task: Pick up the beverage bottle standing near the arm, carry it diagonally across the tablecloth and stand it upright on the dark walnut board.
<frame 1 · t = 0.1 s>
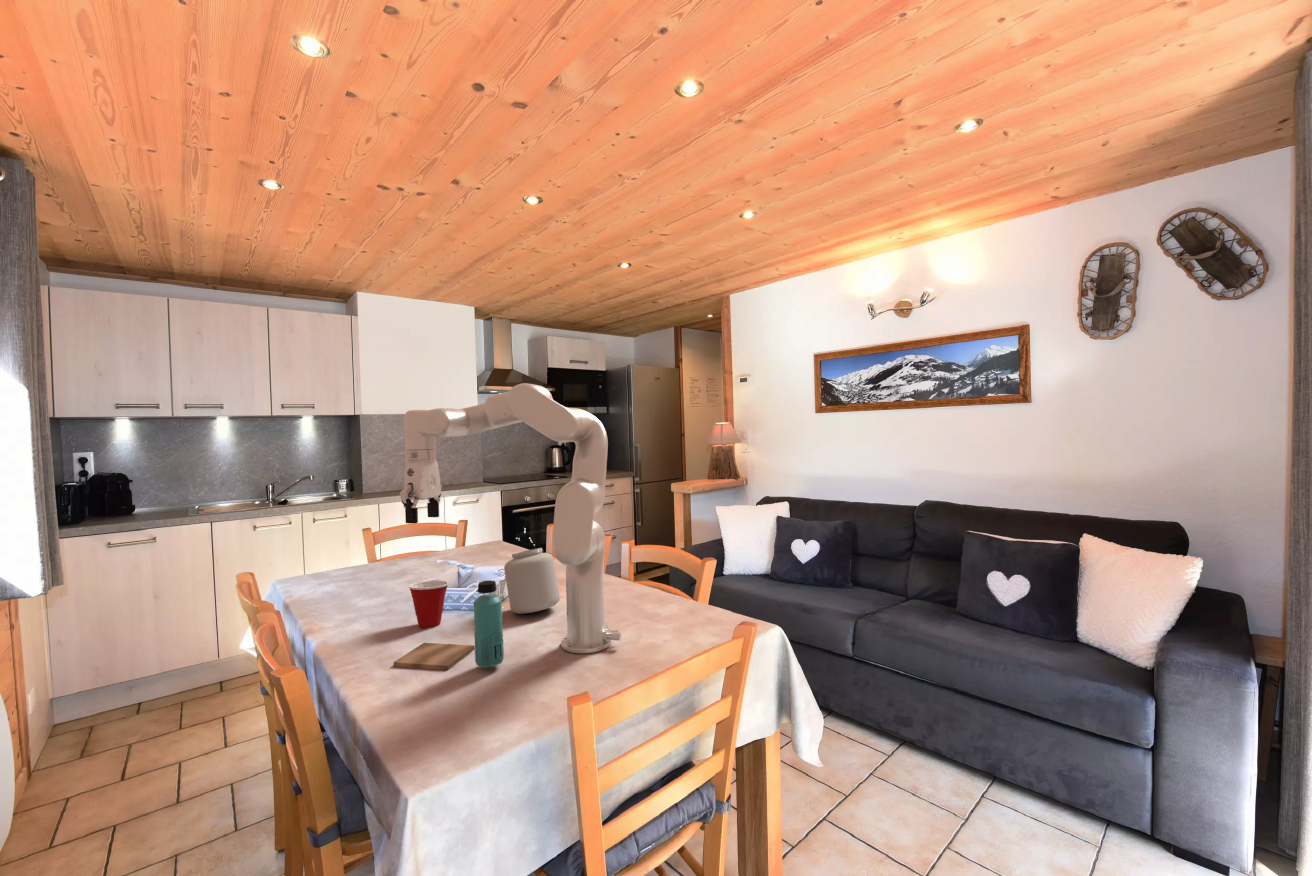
hand: (422, 520, 149), 31 cm above the table, tool pointing down, fingers open, 9 cm apart
plastic cup: (430, 625, 159), on the table
beverage bottle: (489, 668, 129), on the table
walnut board: (435, 657, 135), on the table
jar: (530, 611, 169), on the table
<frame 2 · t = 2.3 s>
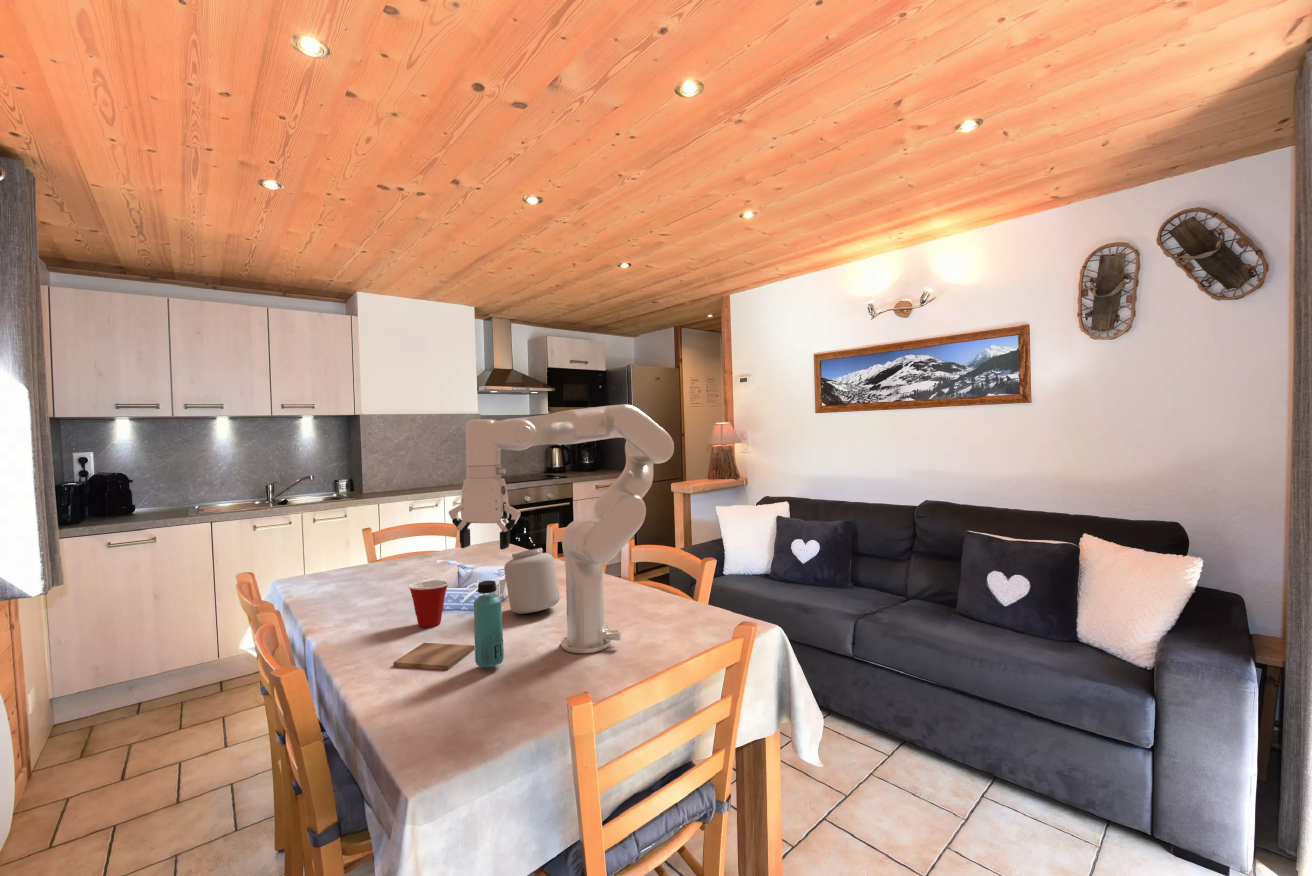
hand: (484, 547, 128), 28 cm above the table, tool pointing down, fingers open, 9 cm apart
nothing on the table moved.
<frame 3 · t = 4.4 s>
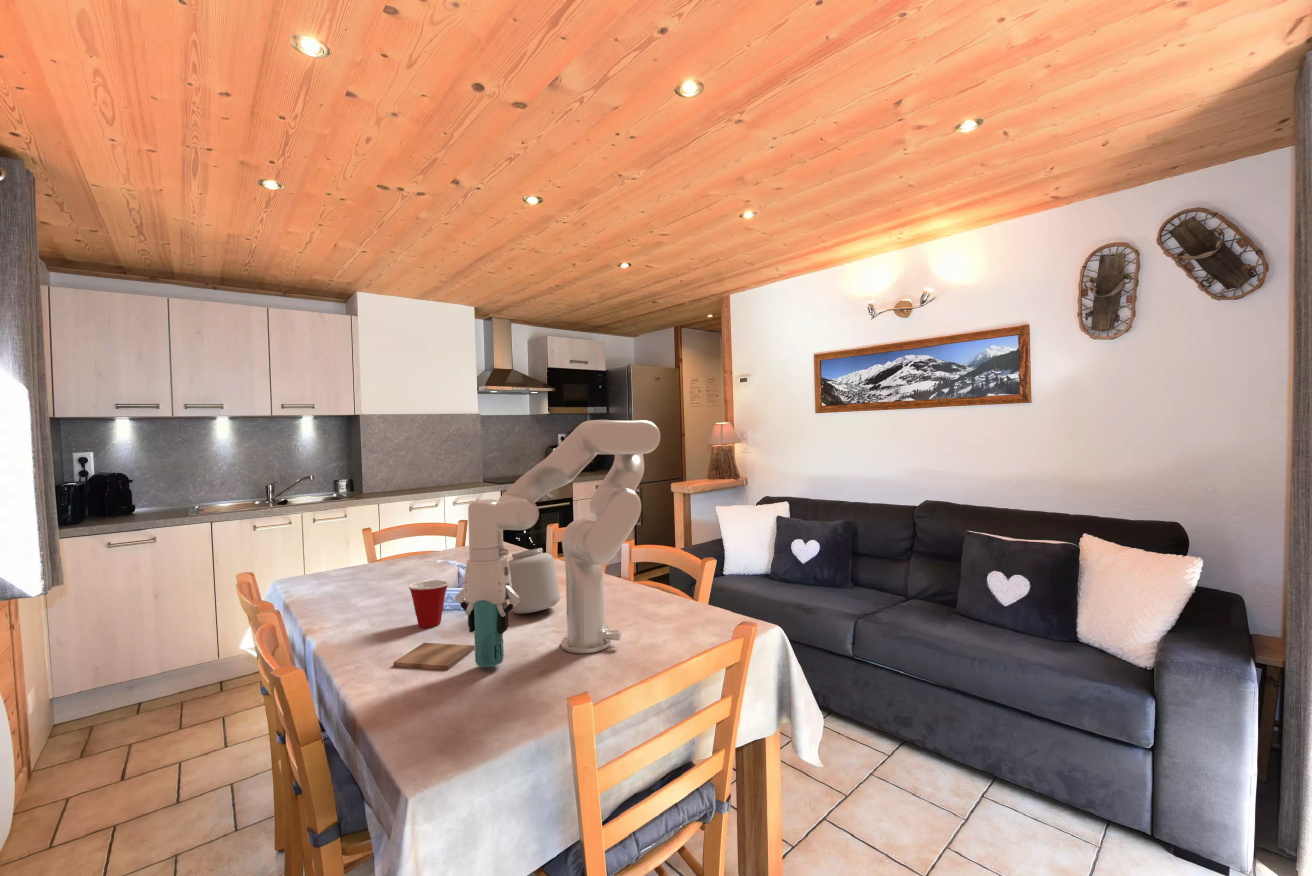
hand: (488, 630, 129), 9 cm above the table, tool pointing down, fingers closed on beverage bottle, 6 cm apart
beverage bottle: (489, 668, 129), on the table, touching gripper
everything else where it was.
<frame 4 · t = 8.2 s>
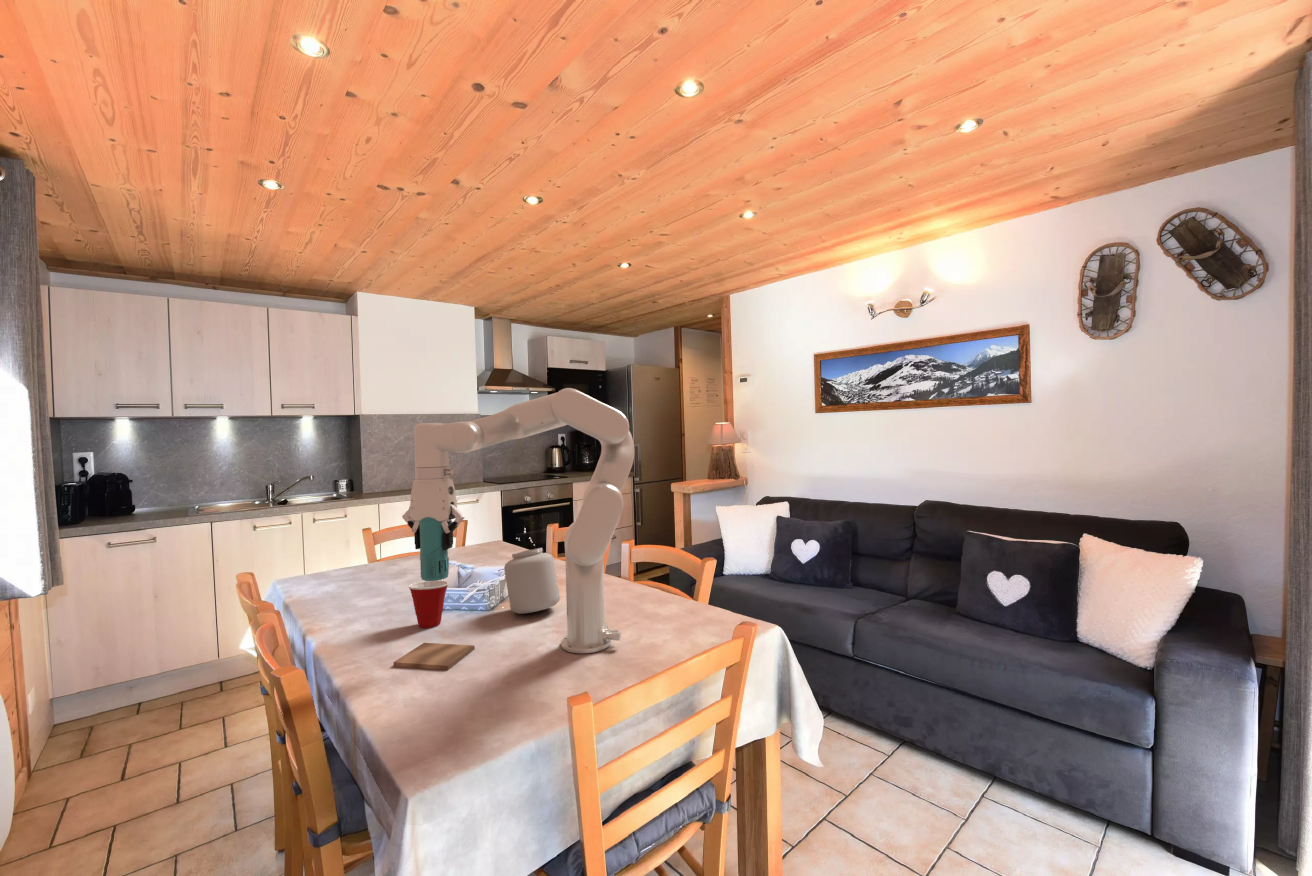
hand: (434, 547, 135), 27 cm above the table, tool pointing down, fingers closed on beverage bottle, 6 cm apart
beverage bottle: (434, 584, 135), point 18 cm above the table, touching gripper
everything else where it was.
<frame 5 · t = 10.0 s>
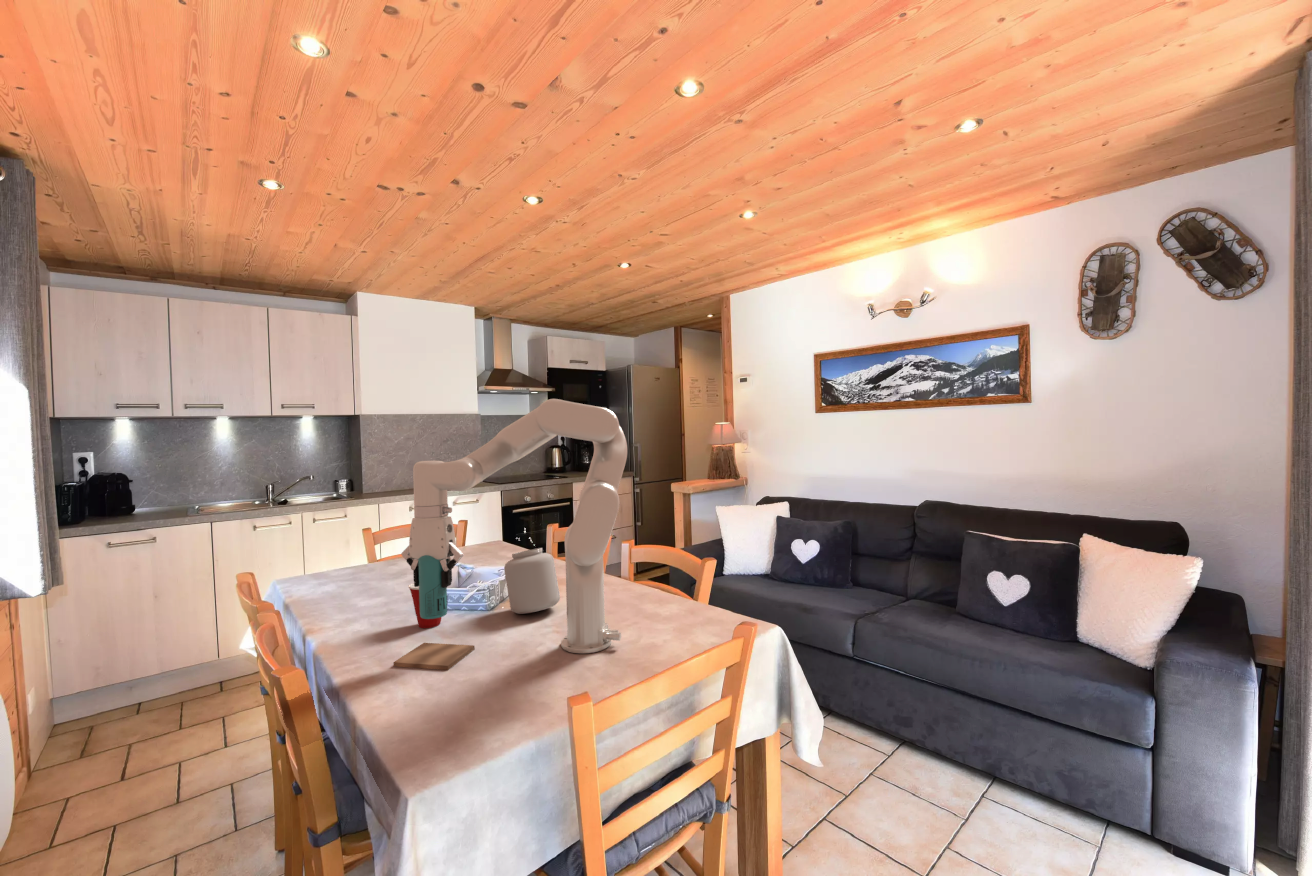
hand: (432, 585, 135), 18 cm above the table, tool pointing down, fingers closed on beverage bottle, 6 cm apart
beverage bottle: (433, 621, 135), point 9 cm above the table, touching gripper
everything else where it was.
when the fingers open (11 cm above the table, at t = 11.8 s): beverage bottle drops 1 cm, resting on walnut board.
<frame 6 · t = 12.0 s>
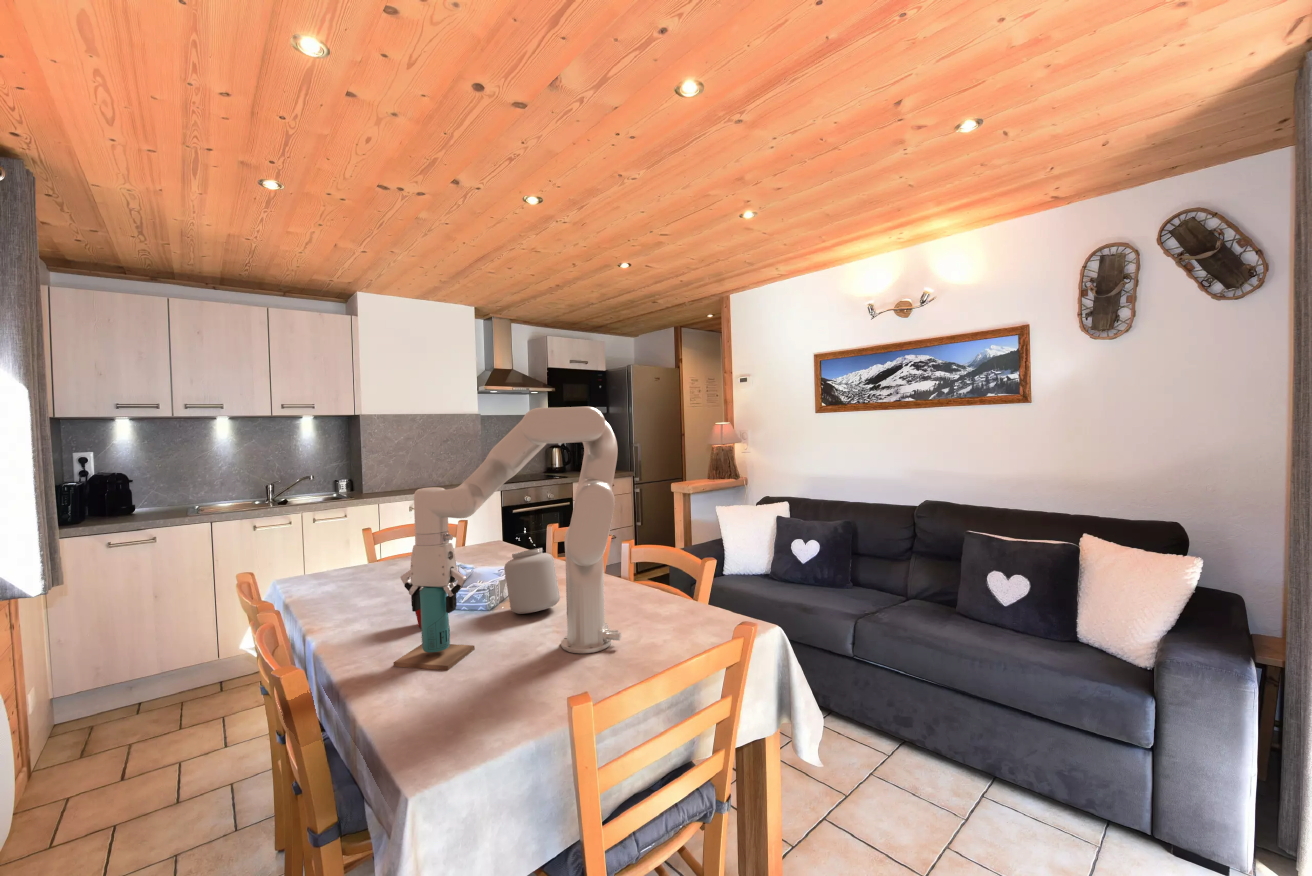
hand: (434, 610, 135), 12 cm above the table, tool pointing down, fingers open, 8 cm apart
beverage bottle: (436, 654, 135), point 1 cm above the table, touching walnut board
everything else where it was.
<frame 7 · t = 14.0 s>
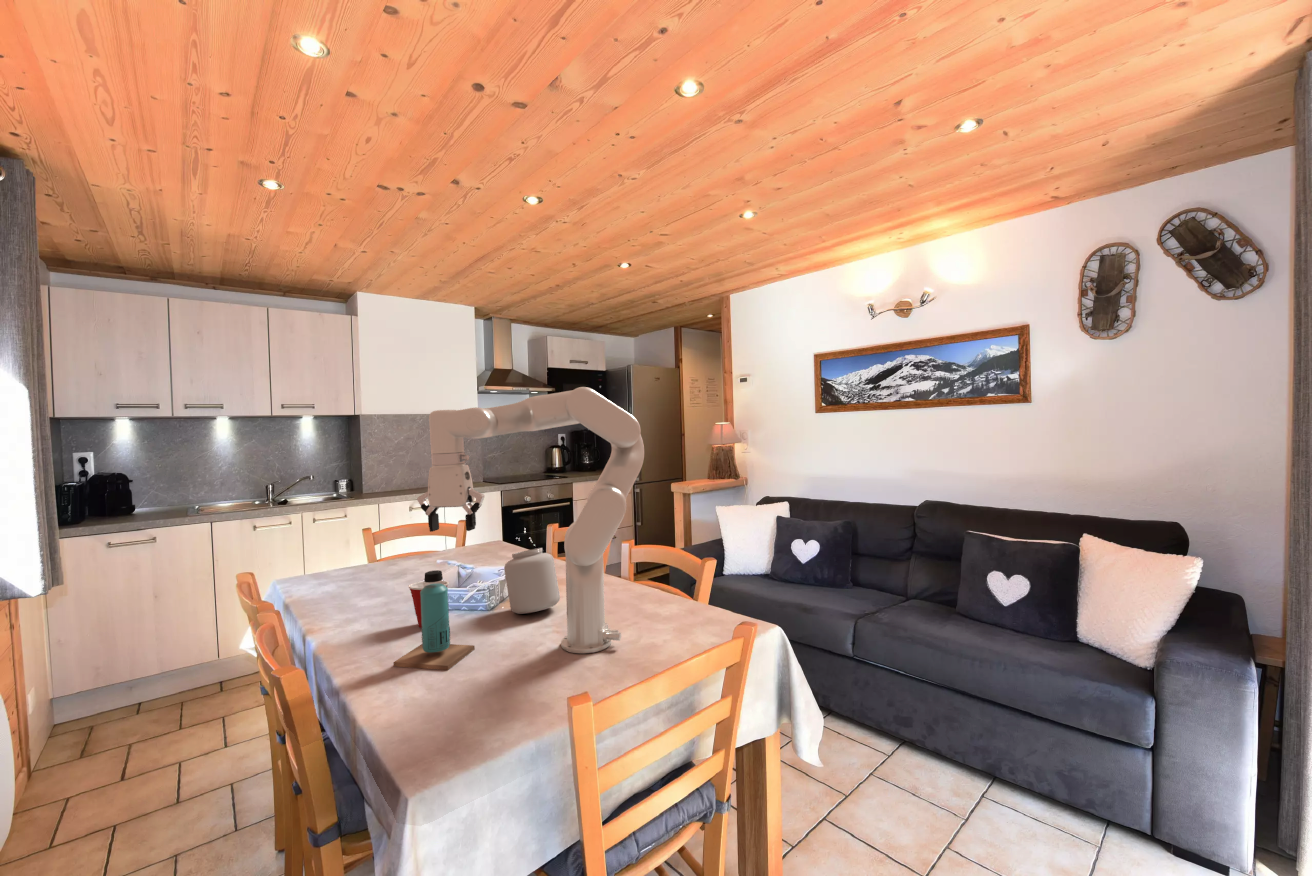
hand: (452, 530, 137), 31 cm above the table, tool pointing down, fingers open, 9 cm apart
nothing on the table moved.
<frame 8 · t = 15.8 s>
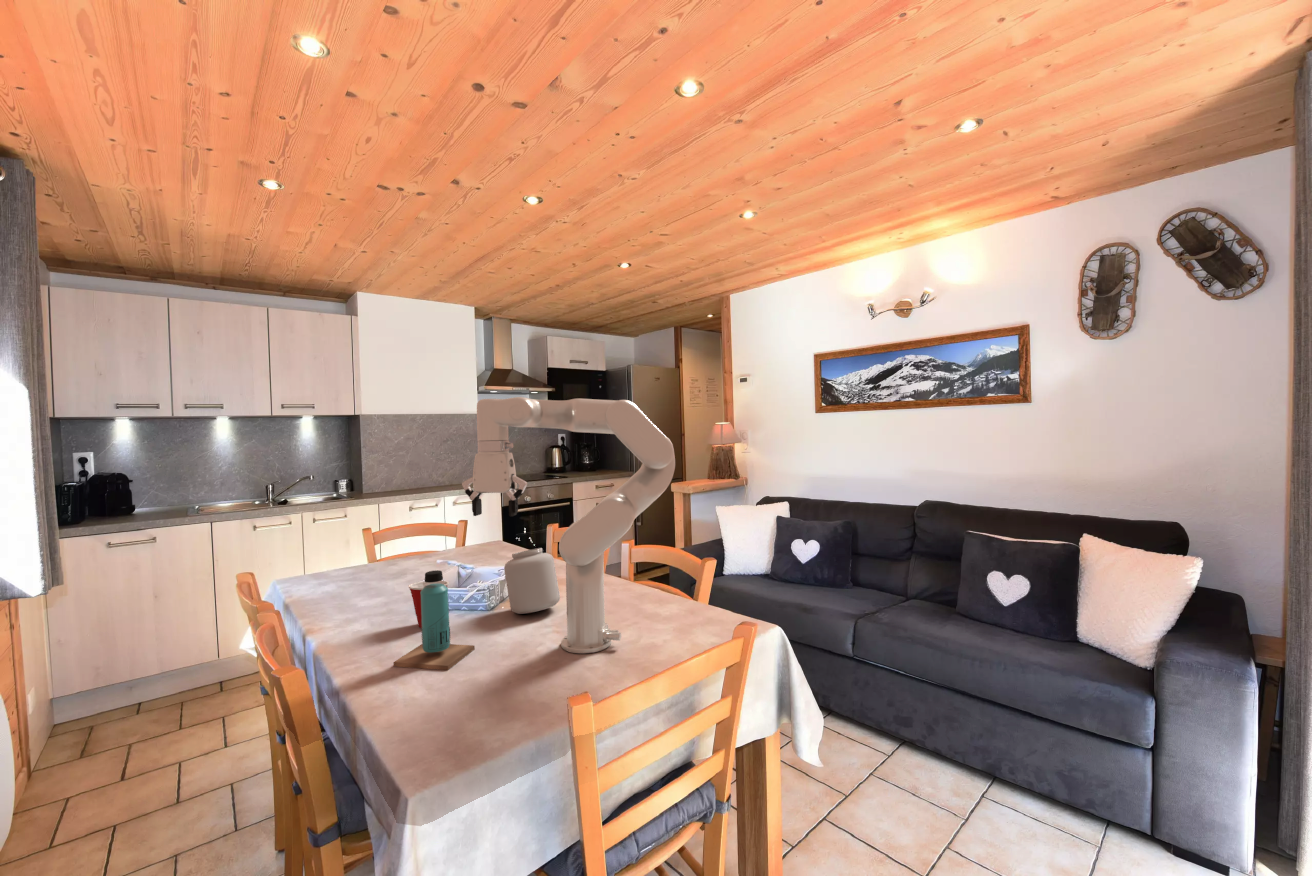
hand: (495, 515, 141), 33 cm above the table, tool pointing down, fingers open, 9 cm apart
nothing on the table moved.
at the end: beverage bottle inside the target area on the walnut board (0.3 cm from its centre), point 0.8 cm above the walnut board's base; beverage bottle tilted 0°; the gripper is holding nothing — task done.
